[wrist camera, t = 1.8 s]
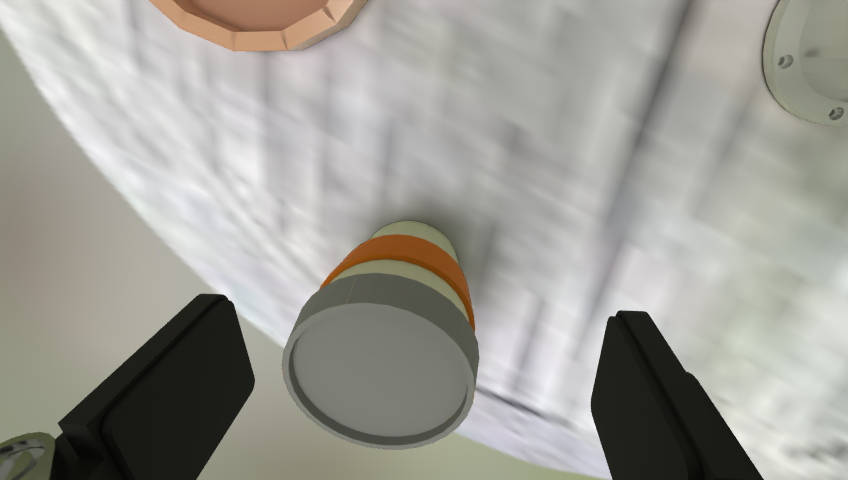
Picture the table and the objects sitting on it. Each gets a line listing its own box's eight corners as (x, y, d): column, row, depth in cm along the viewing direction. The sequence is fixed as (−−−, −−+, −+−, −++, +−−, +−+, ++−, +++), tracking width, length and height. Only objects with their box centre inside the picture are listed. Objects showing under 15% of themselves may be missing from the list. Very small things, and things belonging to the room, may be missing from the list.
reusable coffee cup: (415, 338, 42) (388, 476, 28) (320, 262, 39) (240, 376, 26) (505, 265, 37) (524, 391, 24) (404, 172, 34) (360, 256, 21)
